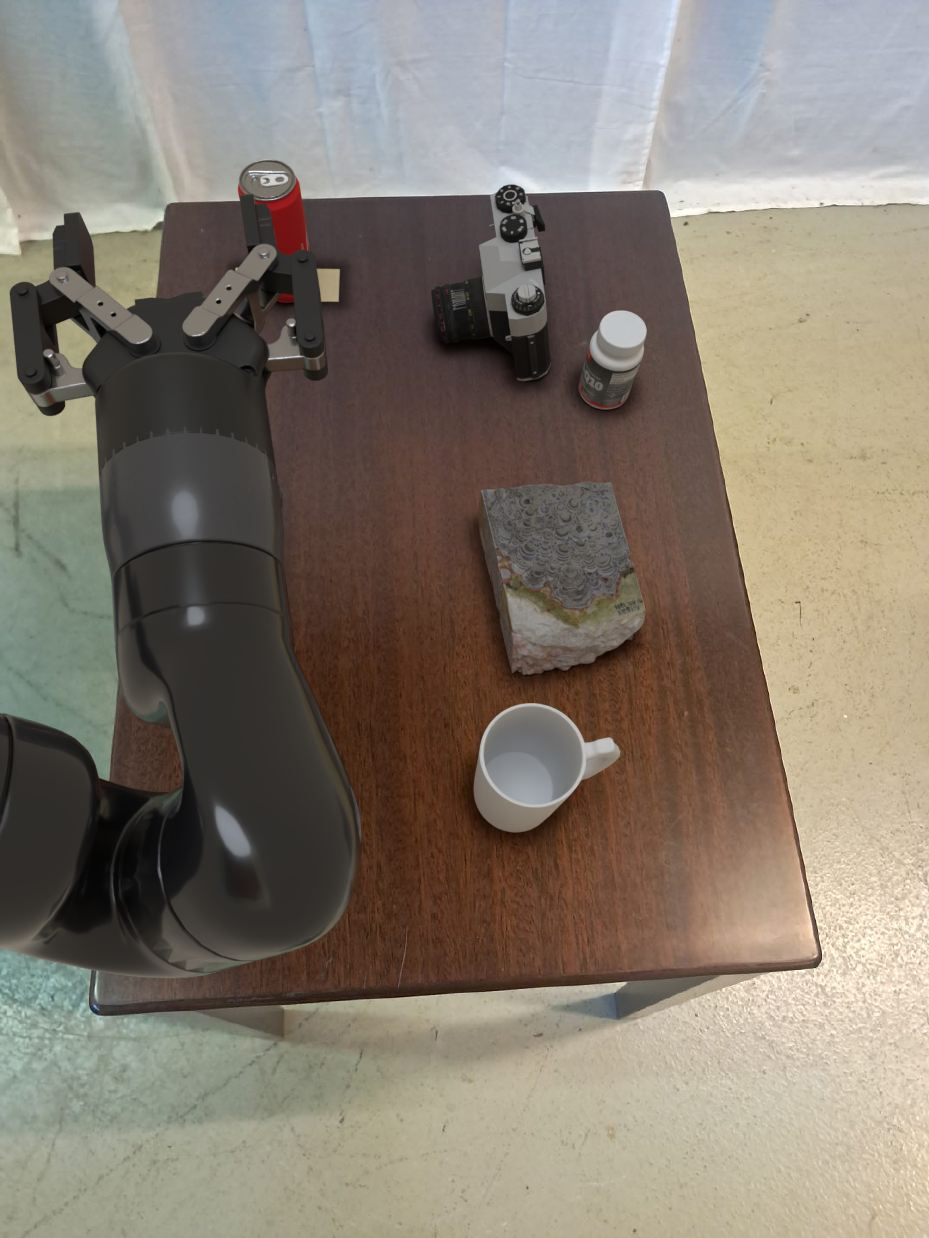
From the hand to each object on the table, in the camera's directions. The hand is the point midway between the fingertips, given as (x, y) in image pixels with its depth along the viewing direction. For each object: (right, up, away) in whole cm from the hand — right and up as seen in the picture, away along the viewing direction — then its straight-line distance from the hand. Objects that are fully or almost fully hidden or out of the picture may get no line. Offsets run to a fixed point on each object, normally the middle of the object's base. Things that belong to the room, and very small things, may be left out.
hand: (164, 216), depth 44 cm
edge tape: (-2, +12, +39) cm, 41 cm away
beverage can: (-2, +11, +39) cm, 41 cm away
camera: (+17, +8, +39) cm, 43 cm away
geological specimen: (+23, -18, +29) cm, 41 cm away
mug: (+21, -33, +22) cm, 45 cm away
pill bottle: (+28, +1, +37) cm, 46 cm away
